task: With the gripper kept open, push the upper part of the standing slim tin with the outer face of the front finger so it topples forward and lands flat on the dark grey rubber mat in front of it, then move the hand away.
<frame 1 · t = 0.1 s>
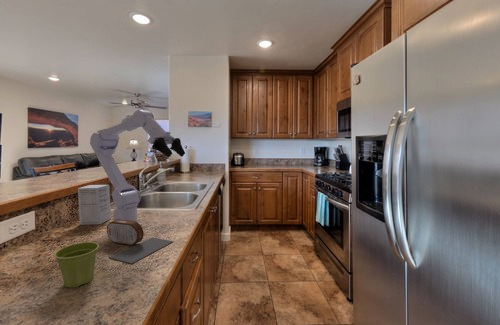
hand: (177, 155, 93), 32 cm above the worktop, tool tilted 50°, fingers open, 7 cm apart
plant pot: (79, 282, 63), on the worktop
supplement box: (96, 222, 113), on the worktop
mat: (143, 249, 82), on the worktop
tin: (125, 243, 87), on the worktop, touching mat
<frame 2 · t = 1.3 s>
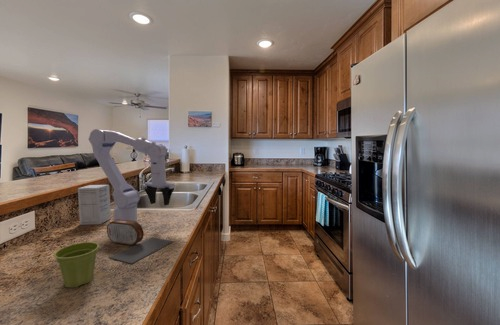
hand: (159, 204, 103), 10 cm above the worktop, tool pointing down, fingers open, 7 cm apart
nothing on the worktop moved.
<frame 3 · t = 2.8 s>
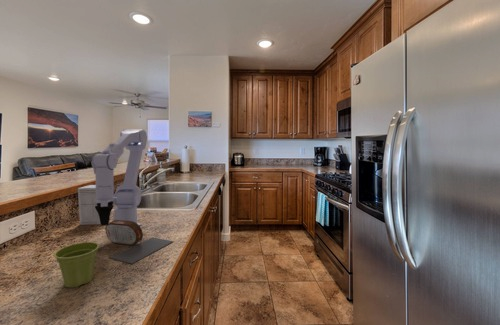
hand: (104, 222, 89), 7 cm above the worktop, tool pointing down, fingers open, 6 cm apart
tin: (125, 243, 87), on the worktop, touching gripper, mat
everything else where it was.
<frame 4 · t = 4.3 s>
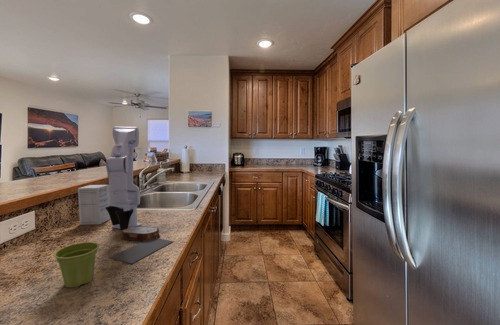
hand: (119, 226, 87), 6 cm above the worktop, tool pointing down, fingers open, 7 cm apart
tin: (132, 236, 89), point 2 cm above the worktop, touching mat
everything else where it was.
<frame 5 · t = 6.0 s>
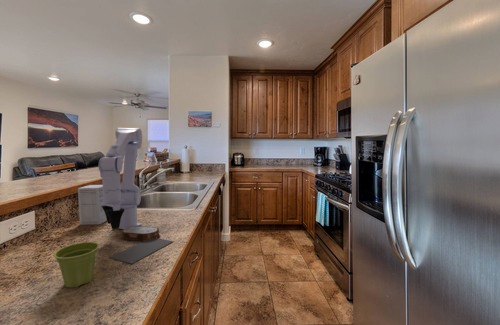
hand: (113, 225, 89), 6 cm above the worktop, tool pointing down, fingers open, 7 cm apart
nothing on the worktop moved.
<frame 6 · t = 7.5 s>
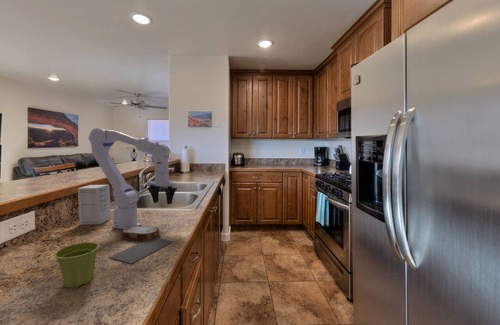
hand: (162, 203, 105), 10 cm above the worktop, tool pointing down, fingers open, 7 cm apart
nothing on the worktop moved.
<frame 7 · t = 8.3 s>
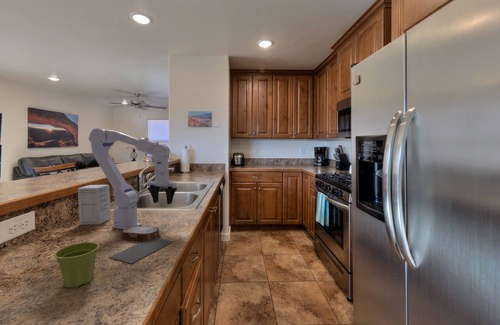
hand: (162, 203, 105), 10 cm above the worktop, tool pointing down, fingers open, 7 cm apart
nothing on the worktop moved.
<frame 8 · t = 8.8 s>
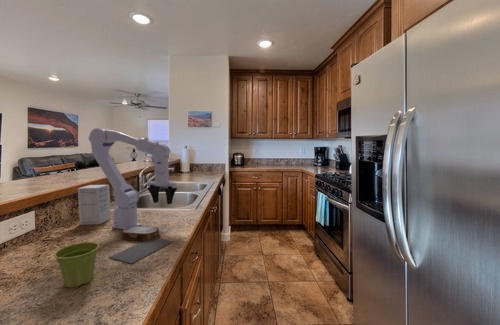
hand: (162, 203, 105), 10 cm above the worktop, tool pointing down, fingers open, 7 cm apart
nothing on the worktop moved.
at the end: tin tilted 95°; tin inside the target area (7.6 cm from its centre), point 1.8 cm above the worktop; the gripper is holding nothing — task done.
